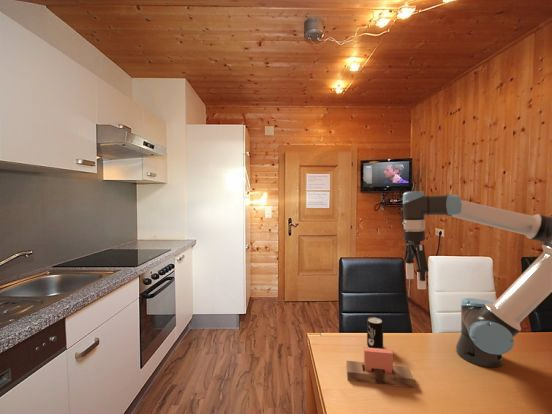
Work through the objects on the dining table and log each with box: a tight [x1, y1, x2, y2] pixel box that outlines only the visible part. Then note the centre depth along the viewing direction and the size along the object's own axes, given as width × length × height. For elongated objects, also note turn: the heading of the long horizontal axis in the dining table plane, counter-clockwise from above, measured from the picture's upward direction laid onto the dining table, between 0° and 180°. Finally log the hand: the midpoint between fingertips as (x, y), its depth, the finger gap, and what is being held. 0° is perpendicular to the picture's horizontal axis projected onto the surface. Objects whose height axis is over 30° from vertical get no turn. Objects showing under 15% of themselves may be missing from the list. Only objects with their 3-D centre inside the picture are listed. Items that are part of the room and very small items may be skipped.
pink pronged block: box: [363, 346, 394, 374], centre depth 98 cm, size 10×3×10 cm, turn 78°
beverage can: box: [366, 316, 384, 349], centre depth 118 cm, size 7×7×12 cm
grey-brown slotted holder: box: [346, 360, 415, 388], centre depth 98 cm, size 22×7×3 cm, turn 78°
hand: (415, 283), depth 108 cm, fingers open, 13 cm apart
